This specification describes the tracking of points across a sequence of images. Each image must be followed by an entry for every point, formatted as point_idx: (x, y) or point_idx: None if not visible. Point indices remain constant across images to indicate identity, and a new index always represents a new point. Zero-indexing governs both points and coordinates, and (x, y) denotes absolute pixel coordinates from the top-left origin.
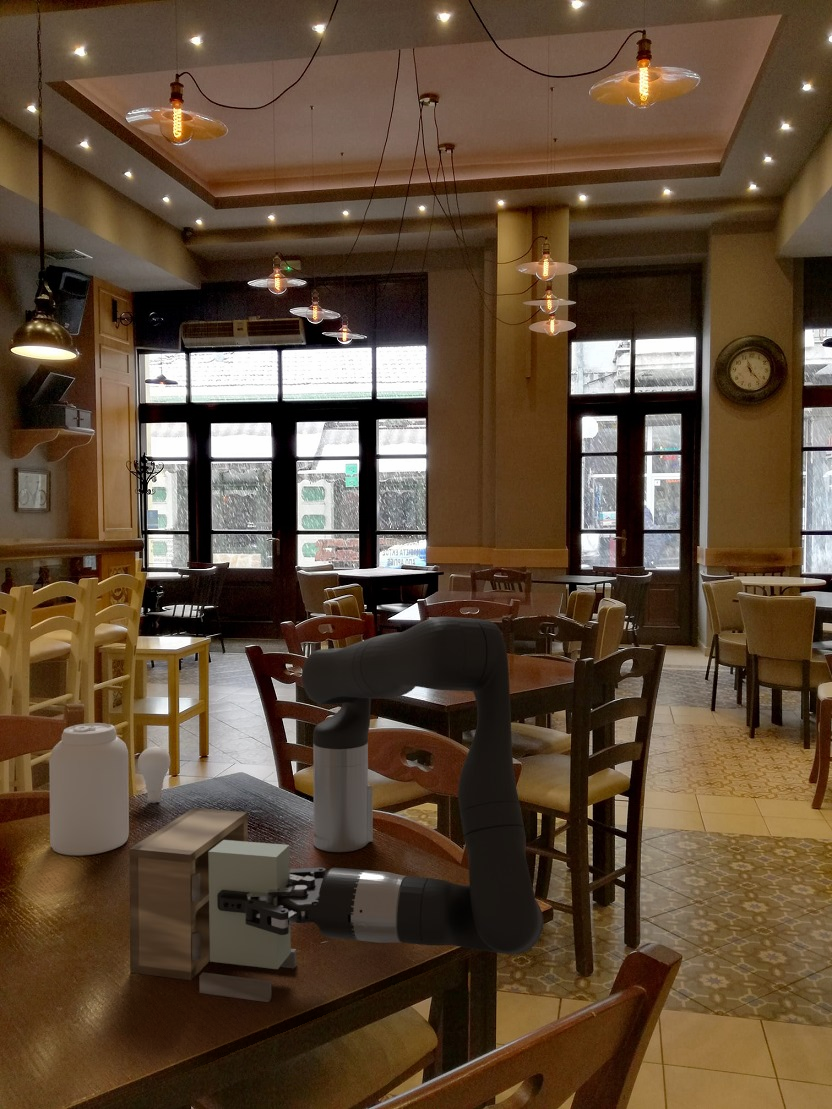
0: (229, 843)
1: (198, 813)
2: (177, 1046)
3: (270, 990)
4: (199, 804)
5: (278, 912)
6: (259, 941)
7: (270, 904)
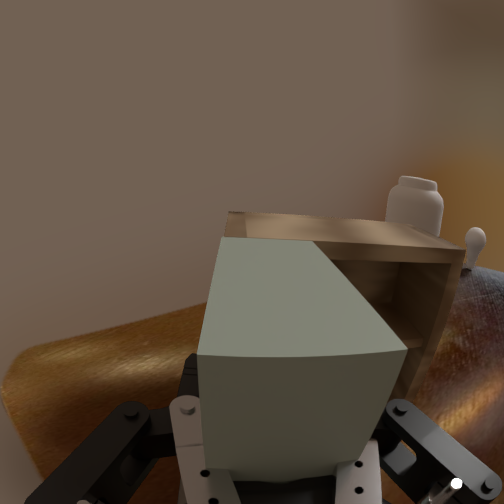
0: (294, 247)
1: (401, 226)
2: (56, 450)
3: None
4: (493, 282)
5: (31, 494)
6: None
7: (102, 471)
